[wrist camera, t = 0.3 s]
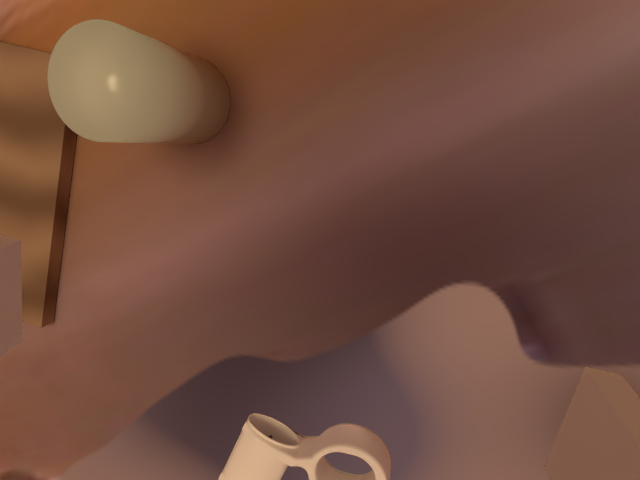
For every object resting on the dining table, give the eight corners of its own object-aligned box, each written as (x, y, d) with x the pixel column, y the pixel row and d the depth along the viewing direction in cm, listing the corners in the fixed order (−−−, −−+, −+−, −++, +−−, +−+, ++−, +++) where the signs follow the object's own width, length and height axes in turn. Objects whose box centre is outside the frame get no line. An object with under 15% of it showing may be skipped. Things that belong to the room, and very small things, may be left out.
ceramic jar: (158, 48, 38) (54, 8, 27) (237, 66, 37) (162, 32, 26) (145, 133, 39) (41, 127, 28) (221, 152, 38) (143, 154, 28)
